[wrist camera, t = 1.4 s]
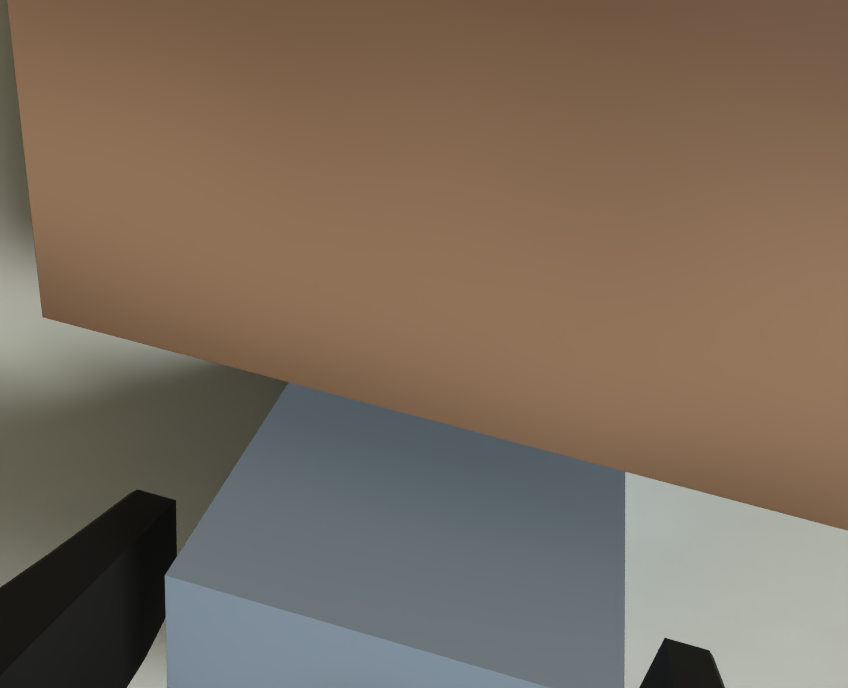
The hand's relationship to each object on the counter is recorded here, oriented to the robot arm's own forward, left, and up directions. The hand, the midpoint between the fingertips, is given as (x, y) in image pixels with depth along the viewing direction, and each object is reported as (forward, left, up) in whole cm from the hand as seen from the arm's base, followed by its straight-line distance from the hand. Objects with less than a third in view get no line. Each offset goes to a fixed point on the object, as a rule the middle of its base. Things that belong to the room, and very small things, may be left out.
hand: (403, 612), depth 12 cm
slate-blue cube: (0, 0, -3) cm, 3 cm away
